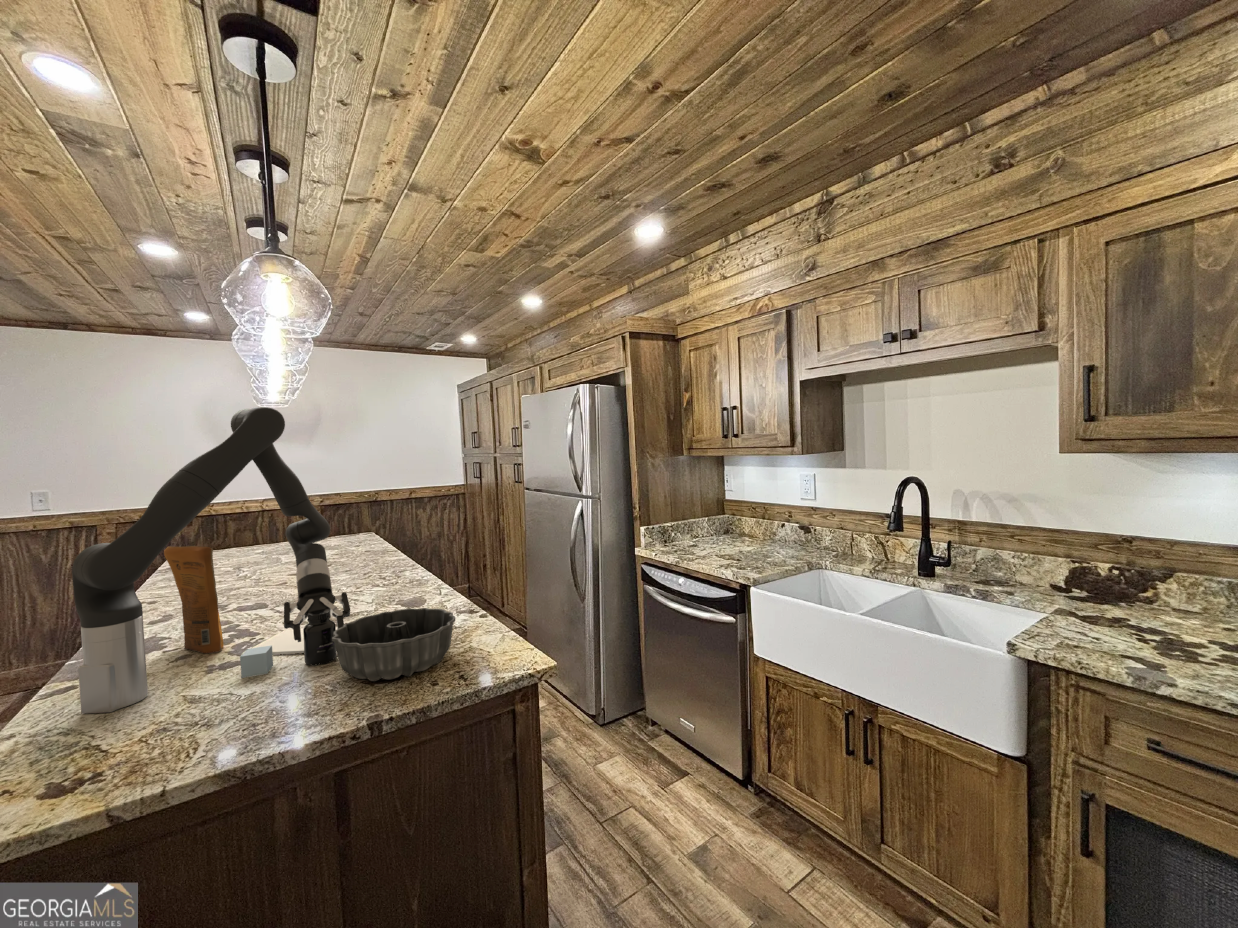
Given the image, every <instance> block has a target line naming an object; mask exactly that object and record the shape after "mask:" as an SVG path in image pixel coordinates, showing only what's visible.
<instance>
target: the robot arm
mask: <svg viewBox="0 0 1238 928" xmlns="http://www.w3.org/2000/svg"><path fill="white" fill-rule="evenodd" d="M230 428H231V431H232V434H230V436H229V437H227V439H225V440H224V441H222V442H221V443H220V444H218V445H217V446H215V447H213V448H212V449H210V450H207V451H206V452H204V453H202V454H201V455H199V456H197V457H196V458H194V459H192V460H191V461H189V462H188V463H186V464H185V465H184V466H183V467H181V468H180V469H179V470H178V471H176V473H175V474H173V476H171V477H170V478H169V479H168V480H167V481H166V482H165V483H164V484H163V485H162V486H161V487H160V488H159V489H158V490H157V492H156V494H155V495H154V496H153V498H152V499H151V500H150V503H149V504H148V506H147V508H146V509H145V511H144V512H143V514H142V516H141V517H139V519H138V520H137V521H136V522H135V523H134V524H133V525H131V527H129V528H128V529H127V530H125V532H123V533H122V534H121V535H119V537H117V538H116V539H114V540H113V541H111V542H105V543H104V542H103V543H97V544H93V545H91V546H88V547H86V548H85V549H83V550H81V552H80V553H79V554H77V556H76V557H75V559H74V560H73V563H72V569H71V570H72V571H71V575H72V586H73V587H72V589H73V597H74V599H73V600H74V604H75V610H76V613H77V615H78V618H79V622H80V635H81V652H82V665H80V666H78V669H77V670H78V671H77V672H78V685H79V698H80V699H79V700H80V711H81V714H98V713H99V714H100V713H112V712H114V711H117V710H120V709H122V708H125V707H128V706H131V705H134V704H136V703H138V702H140V701H142V700H144V699H146V698H147V697H148V695H149V687H148V675H147V659H146V645H145V629H144V616H143V614H144V613H143V604H142V601H141V600H140V599H139V598H138V596H137V593H136V591H135V589H136V588H135V582H136V581H138V579H139V578H141V577H142V575H144V573H145V572H146V571H147V570H148V569H149V567H150V566H151V565H152V564H153V562H155V560H156V558H157V557H158V556H159V554H161V552H162V551H164V550H165V549H166V548H165V547H166V546H168V544H169V543H170V542H171V541H172V540H173V539H174V538H175V537H176V536H177V535H178V534H179V533H180V532H182V531H183V529H185V528H186V527H187V526H188V525H189V524H190V523H191V522H192V521H193V520H194V519H195V518H196V517H198V515H199V514H200V513H201V512H203V510H204V509H206V508H207V507H208V506H209V505H210V504H211V503H212V502H213V501H214V500H215V499H216V498H217V497H218V496H219V495H220V494H221V493H222V492H223V491H224V489H226V487H228V485H230V483H231V482H233V480H235V478H237V476H238V475H240V474H241V472H242V471H243V470H244V469H245V467H246V466H248V464H250V463H251V462H252V461H253V463H254V464H255V466H256V467H257V469H258V471H259V473H261V475H262V476H263V478H264V480H265V482H266V484H267V485H268V487H269V489H270V491H271V492H272V494H273V497H274V499H275V501H276V503H277V505H278V507H279V509H280V511H281V513H282V515H284V516H285V517H299V516H300V517H305V519H302V520H299V521H296V522H292V523H291V524H289V525H288V526H287V527H286V529H285V538H286V541H288V543H289V545H290V546H291V548H292V552H293V553H294V557H295V564H296V575H295V578H296V582H295V583H296V587H297V588H296V589H297V602H295V603H294V602H292V603H290V602H289V601H286V602H284V604H283V628H284V630H286V629H293V633H294V640H298V642H301V631H300V628H301V625H302V624H303V623H305V621H306V620H307V619H308V613H309V612H312V611H315V610H321V609H329V610H330V615H331V618H334V619H335V620H336V622H335V623H336V627H337V629H339V628H341V627H343V625H344V624H345V622H344V619H345V618H349V617H350V616H351V607H350V603H349V598H348V593H347V592H345V591H344V592H342V593H341V594H339V595H334V593H333V590H332V589H333V588H332V581H331V580H332V579H331V573H330V569H329V564H328V560H327V553H326V549H325V546H324V545H322V544H319V543H317V542H320V541H323V540H326V539H327V538H328V537H329V536H330V534H331V525H330V524H329V521H327V519H326V518H325V516H323V515H322V513H320V512H319V511H318V510H317V508H316V507H315V506H314V505H313V503H312V502H311V500H310V499H309V496H308V494H307V492H306V490H305V487H304V486H303V484H302V482H301V480H300V478H298V476H297V475H296V473H295V472H294V471H293V470H292V469H291V467H289V465H288V464H286V462H285V461H284V459H283V458H282V457H281V456H280V454H279V452H278V450H277V449H276V447H275V445H274V443H275V442H276V441H278V440H279V439H280V437H281V436H282V435H283V433H284V432H285V428H286V421H285V418H284V416H283V414H282V413H281V412H280V411H278V410H277V409H275V408H272V407H269V406H268V407H267V406H258V407H249V408H243V409H239V410H238V411H236V412H235V413H233V416H232V417H231V420H230ZM336 602H338V603H339V604H340V605H342V611H341V610H340V609H339V608H337V606H336V605H335V603H336ZM295 609H297V610H298V611H299V612H298V614H297V616H295V618H294V619H293V620H291V614H292V613H294V611H295Z"/></svg>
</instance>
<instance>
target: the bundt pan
mask: <svg viewBox="0 0 1238 928" xmlns="http://www.w3.org/2000/svg"><path fill="white" fill-rule="evenodd" d="M455 622H456V616H455V615H454V612H452V611H447V610H445V609H444V608H429V607H421V608H404V609H403V608H402V609H398V610H392V611H383V612H379V613H378V614H377V613H376V614H371V615H367V616H363V617H359V618H358V619H355V620H353V621H350V622H347V623H344V625H343V627H341V628H339V629H337V630H335V631H334V633H333V636H334V637H332V641H334V642H335V646H336V652H337V658H338V663H339V666H340V668H341V669H342V671H343V672H345V673H346V674H348V675H349V676H350V675H351V676H353V677H354V678H356V679H359V680H369V681H370V682H377V681H379V680H380V679H383V680H388V681H389V680H394V679H397V678H399V677H400V676H401V675H403V676H405V677H411V676H412V675H413V674H414V672H417V673H419V672H423V671H426V670H428V669H429V668H430V667H432V666H436V665H438V664H439V663H440V662H441V661H443V659H444V657H445V656H446V654H447V653H448V651H449V649H450V647H451V643H452V635H453V628H454V623H455Z"/></svg>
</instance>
